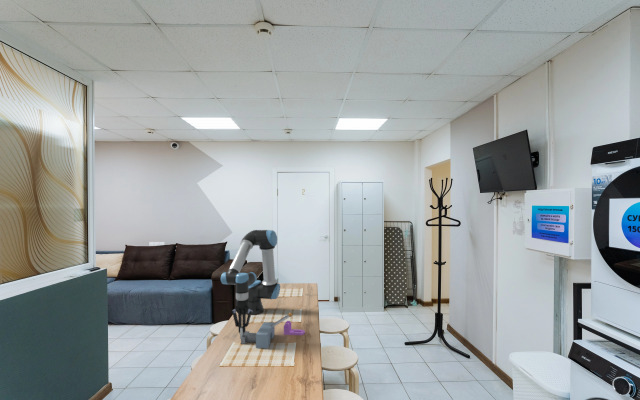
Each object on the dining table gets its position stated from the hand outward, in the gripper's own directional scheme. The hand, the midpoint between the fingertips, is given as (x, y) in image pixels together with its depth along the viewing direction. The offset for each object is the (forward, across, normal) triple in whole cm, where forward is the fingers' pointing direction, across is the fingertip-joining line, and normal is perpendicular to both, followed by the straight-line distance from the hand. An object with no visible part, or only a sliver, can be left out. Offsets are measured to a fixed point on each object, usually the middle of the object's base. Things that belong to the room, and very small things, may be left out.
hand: (242, 337), depth 183 cm
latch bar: (-10, +25, 0) cm, 27 cm away
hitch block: (+2, +15, 0) cm, 15 cm away
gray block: (+2, +7, 0) cm, 7 cm away
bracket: (+2, +30, +12) cm, 33 cm away
